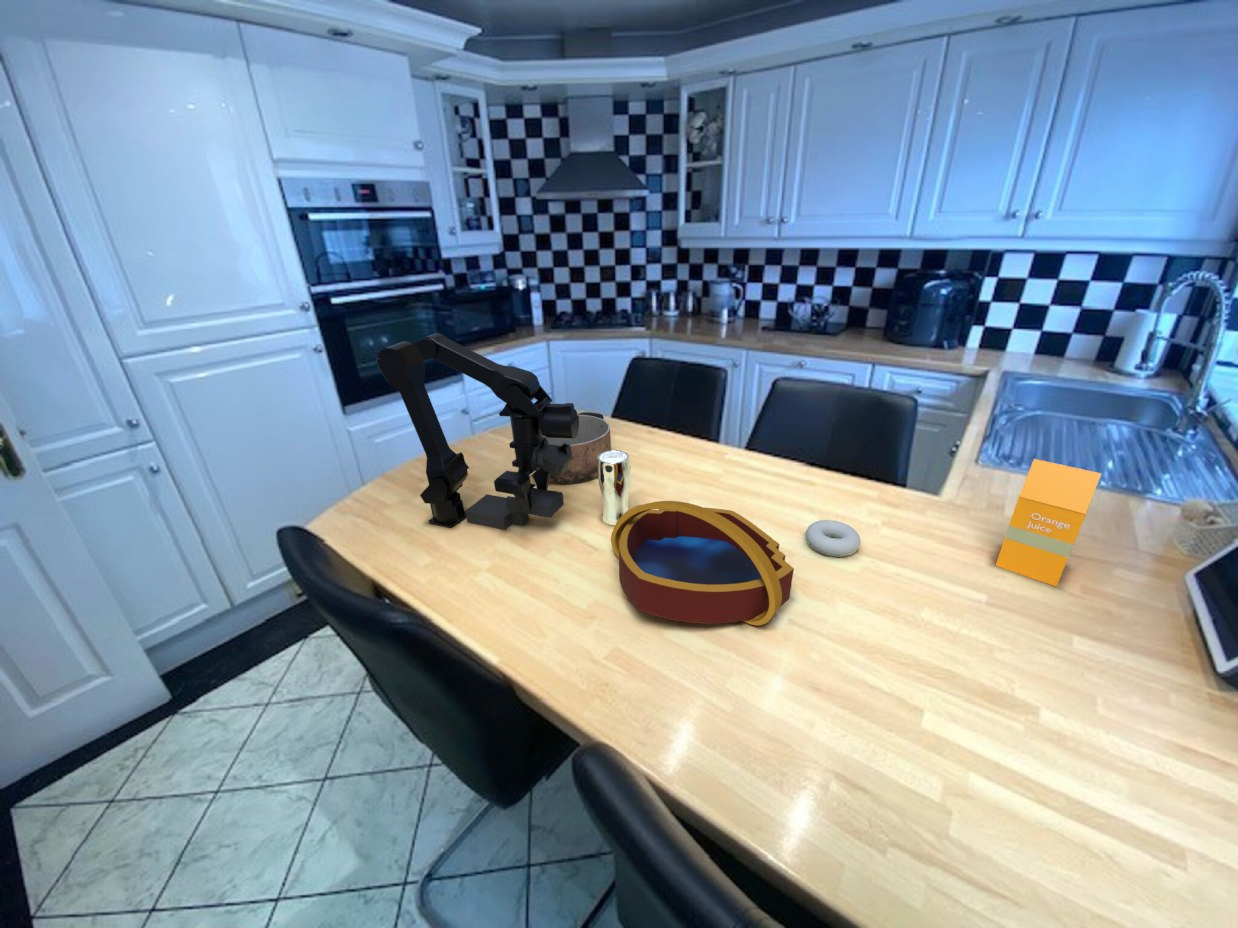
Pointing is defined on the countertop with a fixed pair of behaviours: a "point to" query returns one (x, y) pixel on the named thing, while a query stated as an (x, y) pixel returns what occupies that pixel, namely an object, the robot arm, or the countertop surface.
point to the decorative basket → (699, 564)
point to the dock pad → (494, 513)
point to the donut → (841, 546)
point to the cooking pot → (584, 449)
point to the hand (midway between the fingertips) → (535, 503)
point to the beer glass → (614, 484)
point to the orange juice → (1047, 520)
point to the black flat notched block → (538, 503)
